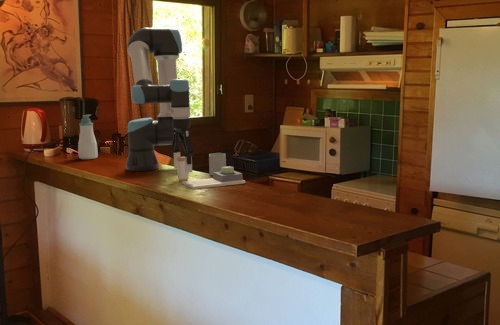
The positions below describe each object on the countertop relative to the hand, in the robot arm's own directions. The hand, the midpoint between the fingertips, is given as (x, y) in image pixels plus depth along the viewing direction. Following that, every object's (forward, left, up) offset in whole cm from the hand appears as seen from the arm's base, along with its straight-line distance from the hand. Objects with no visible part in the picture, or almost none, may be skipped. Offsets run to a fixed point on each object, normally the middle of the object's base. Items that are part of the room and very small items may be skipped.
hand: (183, 170), depth 230 cm
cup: (-8, +18, -5) cm, 21 cm away
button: (+10, +16, -2) cm, 18 cm away
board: (+11, +9, -5) cm, 15 cm away
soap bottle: (-88, -22, -5) cm, 91 cm away
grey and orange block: (0, 0, -5) cm, 5 cm away
